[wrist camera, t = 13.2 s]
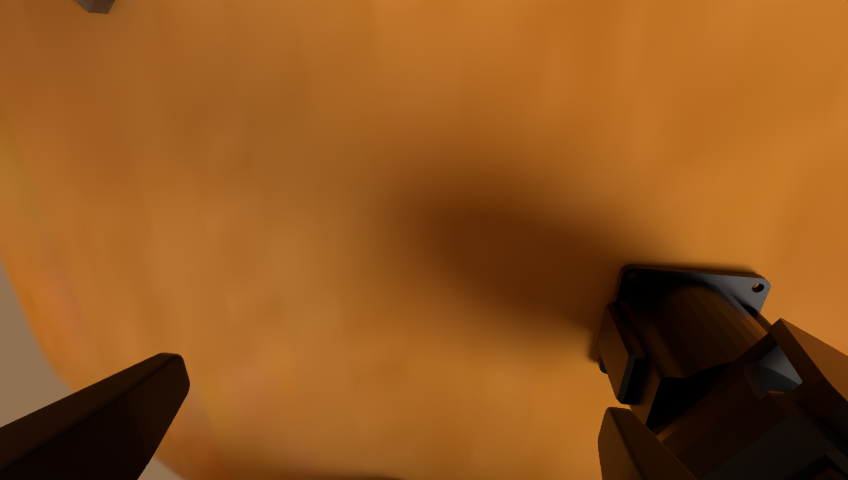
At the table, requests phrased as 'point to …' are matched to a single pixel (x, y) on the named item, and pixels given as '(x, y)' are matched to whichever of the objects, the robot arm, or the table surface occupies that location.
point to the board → (96, 5)
